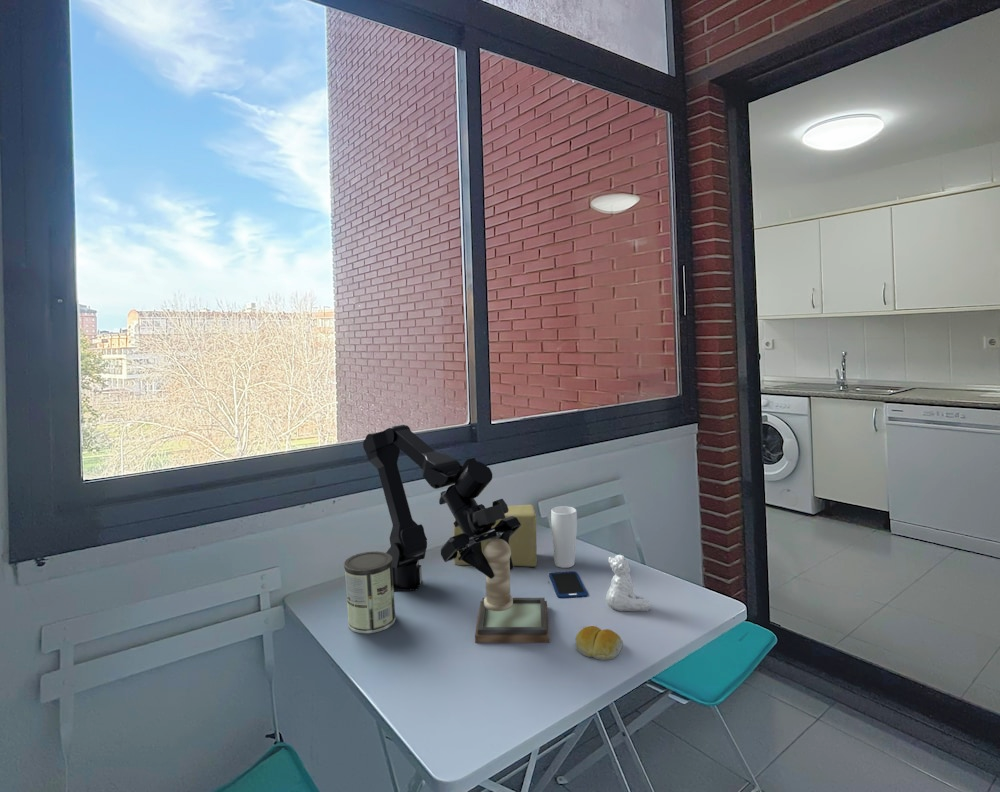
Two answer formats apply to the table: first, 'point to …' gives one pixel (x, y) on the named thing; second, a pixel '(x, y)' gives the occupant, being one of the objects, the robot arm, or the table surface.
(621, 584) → the sitting furry creature
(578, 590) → the cell phone
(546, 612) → the picture frame
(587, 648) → the bread roll
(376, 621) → the coffee can
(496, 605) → the beige round-topped cylinder
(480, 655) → the table surface
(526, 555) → the cheese
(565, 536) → the drinking glass
